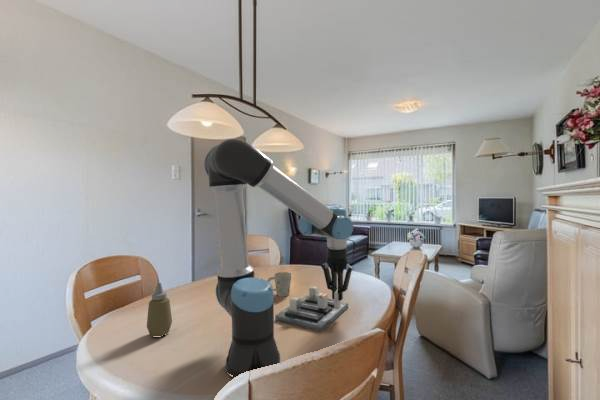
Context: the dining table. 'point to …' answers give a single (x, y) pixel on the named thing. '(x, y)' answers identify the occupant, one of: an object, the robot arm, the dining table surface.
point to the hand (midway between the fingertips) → (337, 308)
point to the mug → (282, 283)
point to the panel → (310, 312)
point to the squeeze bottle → (159, 313)
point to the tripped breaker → (322, 300)
